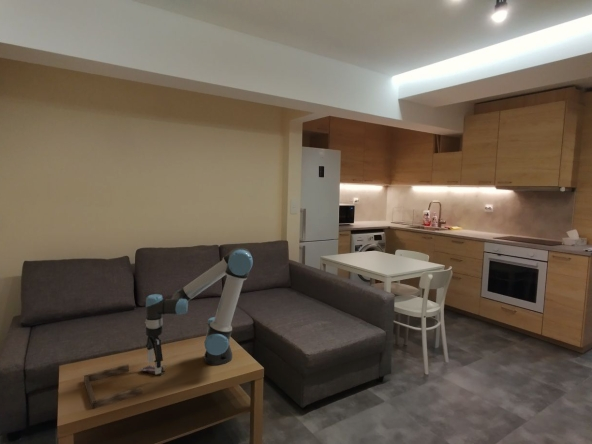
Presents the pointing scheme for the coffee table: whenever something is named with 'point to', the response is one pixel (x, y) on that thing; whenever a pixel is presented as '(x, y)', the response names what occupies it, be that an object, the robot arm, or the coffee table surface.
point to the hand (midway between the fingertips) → (154, 367)
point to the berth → (112, 398)
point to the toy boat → (153, 369)
